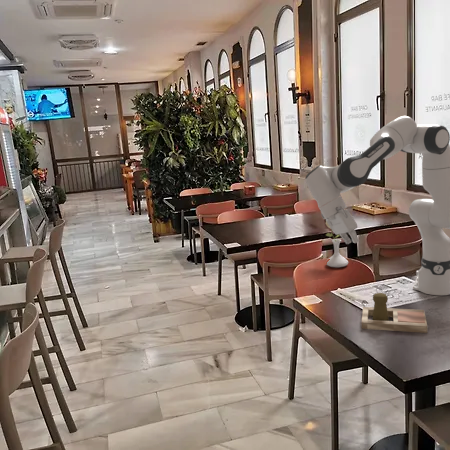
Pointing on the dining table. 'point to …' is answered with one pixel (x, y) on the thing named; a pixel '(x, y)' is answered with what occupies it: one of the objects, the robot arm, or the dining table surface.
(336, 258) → the flower in vase
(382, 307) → the cork
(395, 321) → the wooden frame
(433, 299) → the dining table surface
